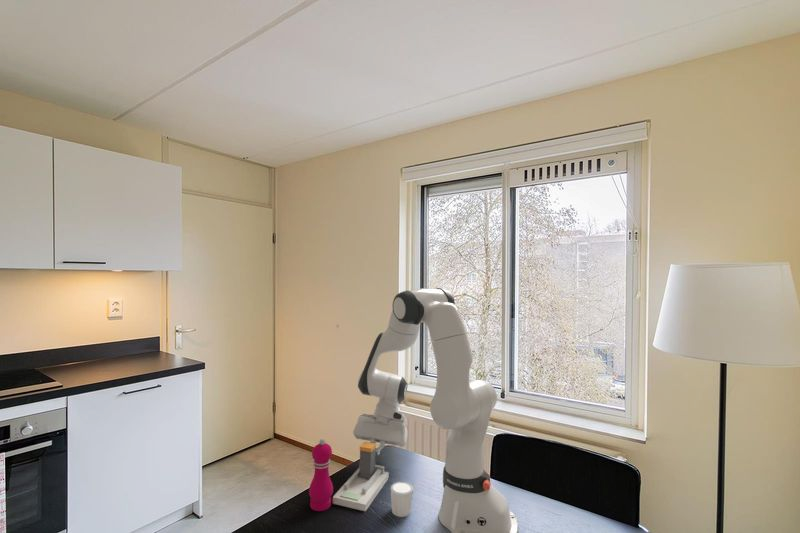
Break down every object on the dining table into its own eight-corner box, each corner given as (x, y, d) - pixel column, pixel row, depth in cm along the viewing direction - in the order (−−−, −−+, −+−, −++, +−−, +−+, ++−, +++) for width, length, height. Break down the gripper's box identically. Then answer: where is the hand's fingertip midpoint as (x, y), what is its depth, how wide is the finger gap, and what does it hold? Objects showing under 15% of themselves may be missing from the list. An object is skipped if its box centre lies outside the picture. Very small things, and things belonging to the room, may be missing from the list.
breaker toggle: (375, 473, 132) (375, 443, 132) (370, 479, 128) (371, 448, 128) (364, 471, 133) (364, 441, 133) (359, 477, 129) (359, 446, 129)
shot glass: (413, 518, 111) (413, 494, 111) (389, 517, 111) (390, 493, 111) (412, 504, 118) (413, 481, 118) (390, 503, 118) (390, 481, 118)
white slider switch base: (388, 478, 133) (388, 466, 133) (365, 511, 114) (365, 497, 114) (359, 472, 137) (360, 461, 137) (332, 503, 118) (332, 490, 118)
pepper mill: (319, 515, 112) (321, 446, 112) (303, 506, 116) (305, 439, 116) (337, 504, 117) (339, 438, 118) (321, 495, 122) (323, 432, 122)
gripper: (357, 409, 147) (345, 445, 138) (408, 416, 140) (399, 455, 131) (362, 417, 151) (350, 452, 142) (411, 424, 145) (403, 462, 135)
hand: (374, 453), depth 136 cm, fingers closed
